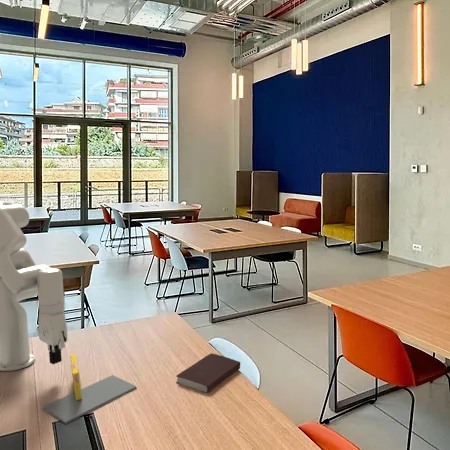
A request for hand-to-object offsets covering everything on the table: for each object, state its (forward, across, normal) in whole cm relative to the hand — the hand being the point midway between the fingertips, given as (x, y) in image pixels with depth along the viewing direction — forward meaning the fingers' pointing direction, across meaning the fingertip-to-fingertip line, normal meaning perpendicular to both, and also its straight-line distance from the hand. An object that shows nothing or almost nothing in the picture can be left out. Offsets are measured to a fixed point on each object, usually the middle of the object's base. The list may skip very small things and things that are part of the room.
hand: (55, 362), depth 140 cm
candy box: (+5, +12, 0) cm, 13 cm away
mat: (+6, +19, 0) cm, 20 cm away
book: (+6, +38, +32) cm, 50 cm away
